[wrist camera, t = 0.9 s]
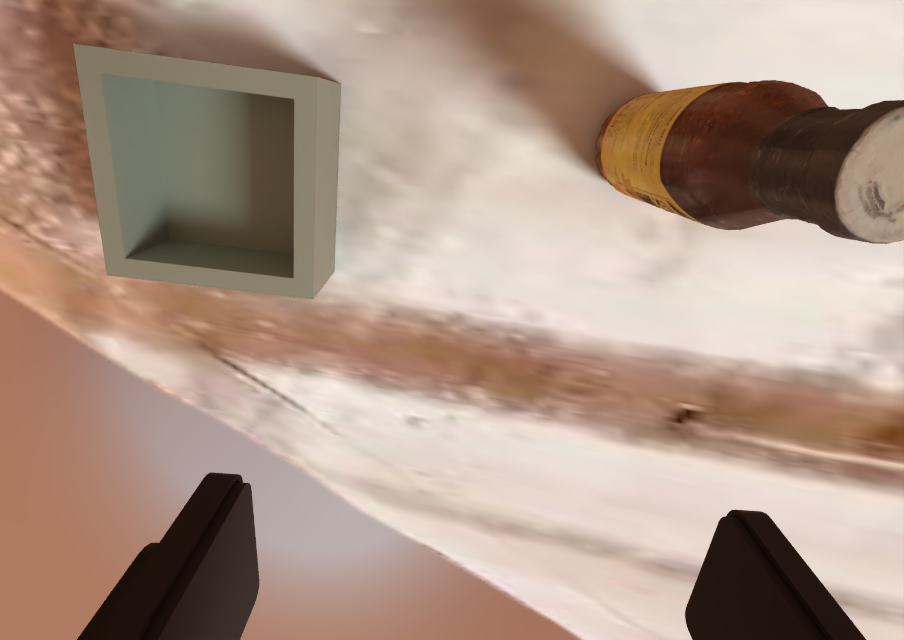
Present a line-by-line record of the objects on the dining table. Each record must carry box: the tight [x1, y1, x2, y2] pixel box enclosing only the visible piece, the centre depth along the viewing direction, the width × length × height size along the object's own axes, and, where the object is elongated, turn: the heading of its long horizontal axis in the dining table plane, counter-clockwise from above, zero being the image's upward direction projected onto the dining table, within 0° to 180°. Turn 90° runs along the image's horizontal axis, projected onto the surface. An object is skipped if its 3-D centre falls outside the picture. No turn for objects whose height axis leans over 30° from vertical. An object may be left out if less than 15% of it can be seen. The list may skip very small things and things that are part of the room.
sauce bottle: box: [596, 80, 904, 244], centre depth 23 cm, size 6×6×20 cm
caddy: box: [73, 44, 341, 299], centre depth 31 cm, size 12×12×6 cm
